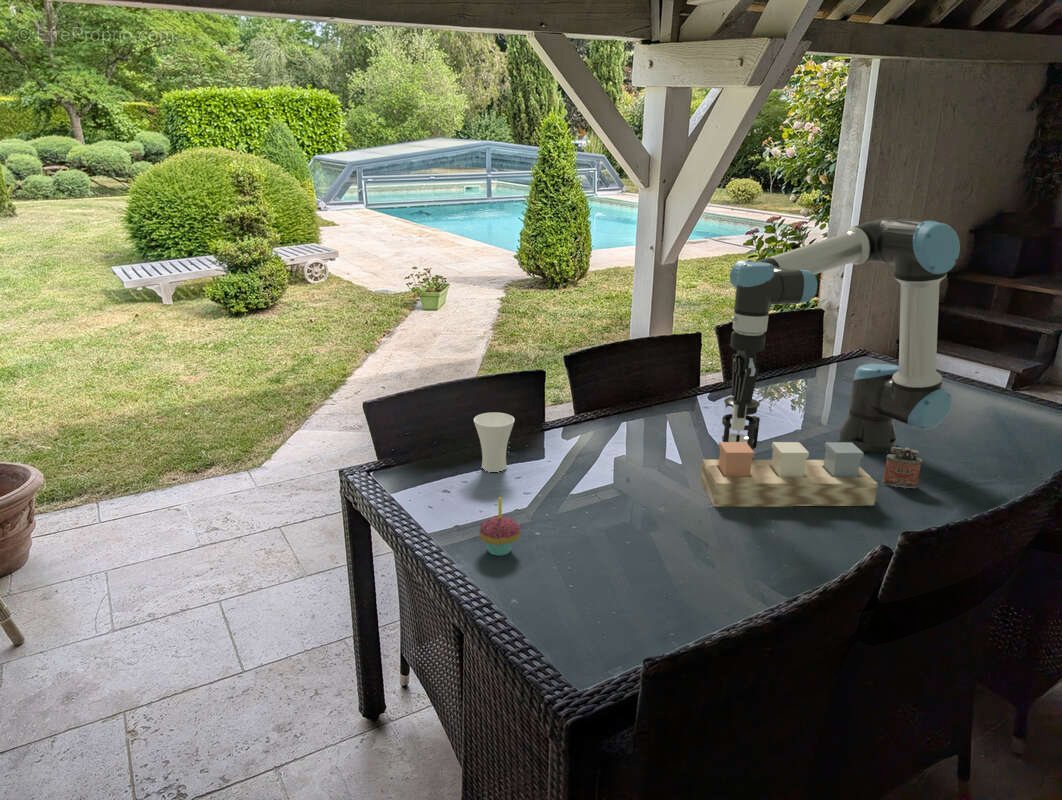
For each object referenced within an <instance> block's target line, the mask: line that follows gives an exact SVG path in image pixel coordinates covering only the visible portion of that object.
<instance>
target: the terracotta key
mask: <svg viewBox="0 0 1062 800" xmlns="http://www.w3.org/2000/svg"><path fill="white" fill-rule="evenodd" d="M718 448H720V455H719V454H718V456H719V464H718V467H719V469H720V470H721V472H722V473H723V475H724V477H750V471H751V463H752V457H753V458H755V451H754V452H753V450H754V449H753V450H752V449H751V448H750V446H749V445H748V444H747V443H746V442H723V441H719V443H718Z"/></svg>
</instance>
